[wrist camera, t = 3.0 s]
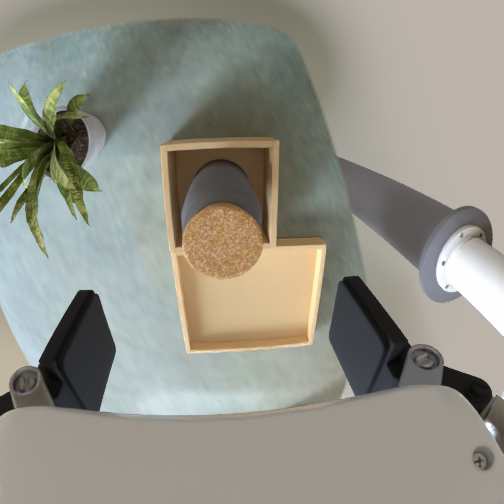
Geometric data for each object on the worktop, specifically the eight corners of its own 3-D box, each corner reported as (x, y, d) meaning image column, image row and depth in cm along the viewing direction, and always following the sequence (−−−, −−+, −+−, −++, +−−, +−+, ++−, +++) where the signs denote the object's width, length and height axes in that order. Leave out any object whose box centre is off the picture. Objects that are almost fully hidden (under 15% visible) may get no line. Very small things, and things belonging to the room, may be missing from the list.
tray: (321, 237, 35) (327, 244, 33) (308, 335, 41) (312, 344, 40) (173, 243, 33) (170, 250, 31) (187, 343, 40) (186, 353, 38)
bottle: (259, 187, 31) (293, 245, 18) (219, 223, 32) (221, 304, 19) (222, 146, 29) (224, 173, 15) (181, 185, 30) (151, 244, 17)
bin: (269, 136, 29) (279, 140, 24) (267, 228, 34) (276, 248, 29) (170, 140, 28) (160, 144, 23) (176, 232, 33) (169, 253, 28)
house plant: (36, 208, 29) (-48, 273, 14) (26, 98, 23) (-74, 108, 8) (138, 199, 30) (78, 274, 16) (134, 73, 24) (58, 41, 10)
